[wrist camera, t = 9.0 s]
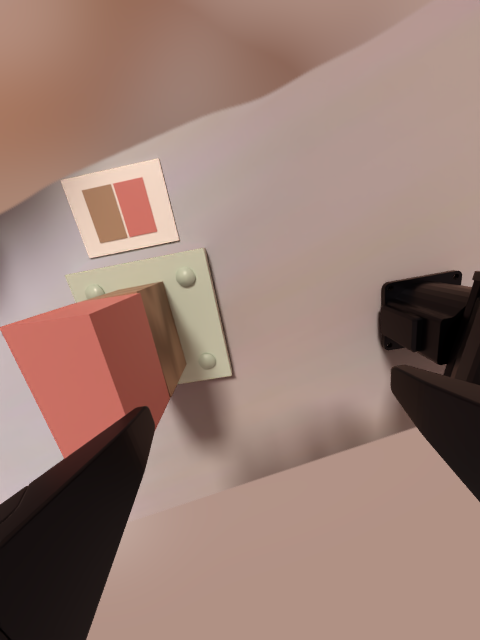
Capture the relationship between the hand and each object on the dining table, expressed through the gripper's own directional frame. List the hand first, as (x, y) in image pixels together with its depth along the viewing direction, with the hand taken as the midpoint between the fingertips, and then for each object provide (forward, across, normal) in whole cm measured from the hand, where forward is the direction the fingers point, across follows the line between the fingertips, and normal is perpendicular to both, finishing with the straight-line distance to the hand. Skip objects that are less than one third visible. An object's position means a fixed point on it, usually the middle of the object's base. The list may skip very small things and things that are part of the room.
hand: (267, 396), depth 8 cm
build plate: (+13, +9, 0) cm, 16 cm away
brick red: (+7, +9, 0) cm, 11 cm away
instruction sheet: (+13, +9, -10) cm, 19 cm away
